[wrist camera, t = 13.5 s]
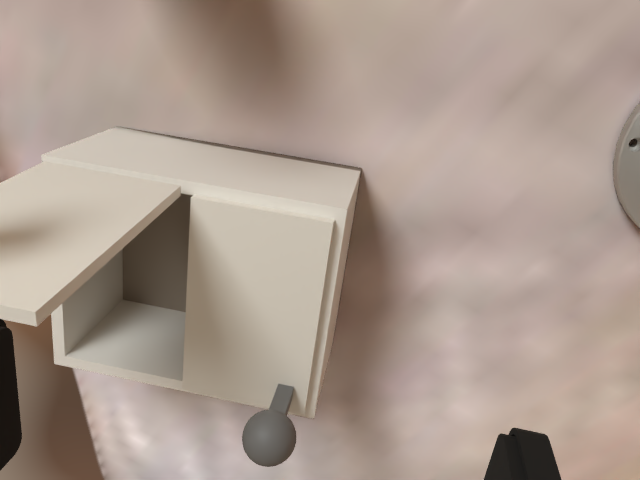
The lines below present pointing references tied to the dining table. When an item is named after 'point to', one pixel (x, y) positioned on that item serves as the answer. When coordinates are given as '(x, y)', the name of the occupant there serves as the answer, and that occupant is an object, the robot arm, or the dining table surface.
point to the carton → (172, 250)
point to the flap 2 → (255, 313)
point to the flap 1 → (66, 231)
